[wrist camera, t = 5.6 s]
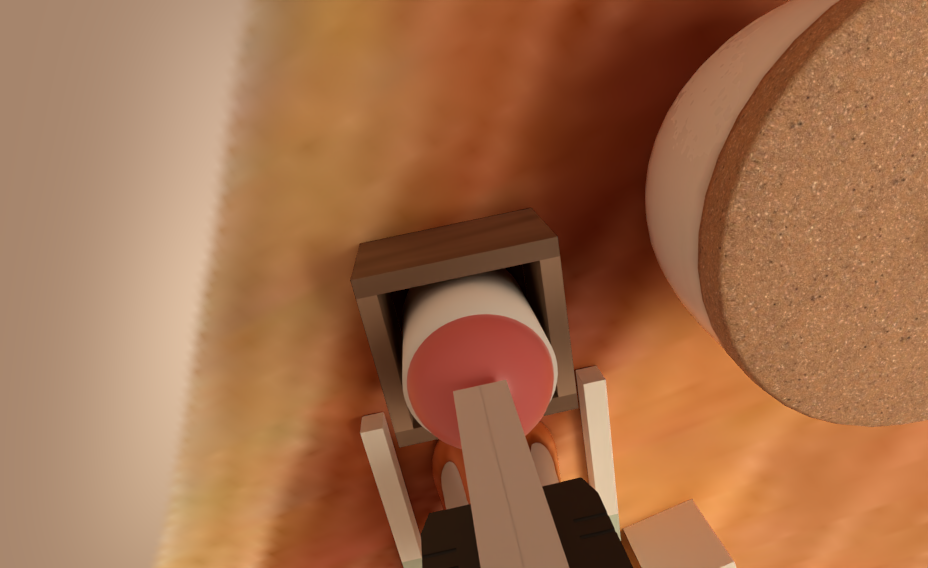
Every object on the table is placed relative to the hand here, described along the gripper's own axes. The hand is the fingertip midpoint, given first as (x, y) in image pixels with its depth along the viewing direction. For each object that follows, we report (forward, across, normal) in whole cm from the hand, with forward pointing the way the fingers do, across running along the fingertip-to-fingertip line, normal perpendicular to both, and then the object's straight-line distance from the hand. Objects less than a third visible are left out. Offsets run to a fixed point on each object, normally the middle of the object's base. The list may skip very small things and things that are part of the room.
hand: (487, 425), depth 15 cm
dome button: (+7, 0, 0) cm, 7 cm away
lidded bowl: (+9, +13, +4) cm, 16 cm away
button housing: (+8, 0, 0) cm, 8 cm away
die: (+8, +9, -16) cm, 20 cm away
